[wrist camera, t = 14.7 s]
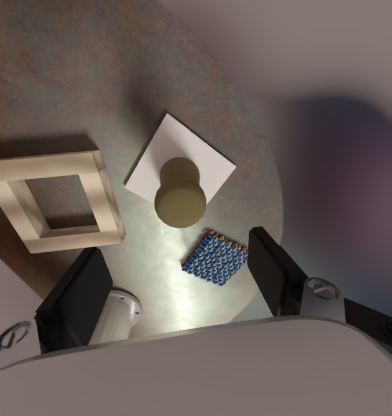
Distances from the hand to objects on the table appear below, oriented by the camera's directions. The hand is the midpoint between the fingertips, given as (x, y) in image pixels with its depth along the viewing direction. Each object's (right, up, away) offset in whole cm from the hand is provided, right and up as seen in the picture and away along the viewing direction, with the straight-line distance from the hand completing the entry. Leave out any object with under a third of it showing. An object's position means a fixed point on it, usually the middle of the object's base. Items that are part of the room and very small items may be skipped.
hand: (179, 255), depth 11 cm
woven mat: (+5, -7, +24) cm, 25 cm away
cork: (-1, +8, +15) cm, 17 cm away
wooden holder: (-19, +4, +15) cm, 24 cm away
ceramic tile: (-1, +8, +15) cm, 17 cm away
